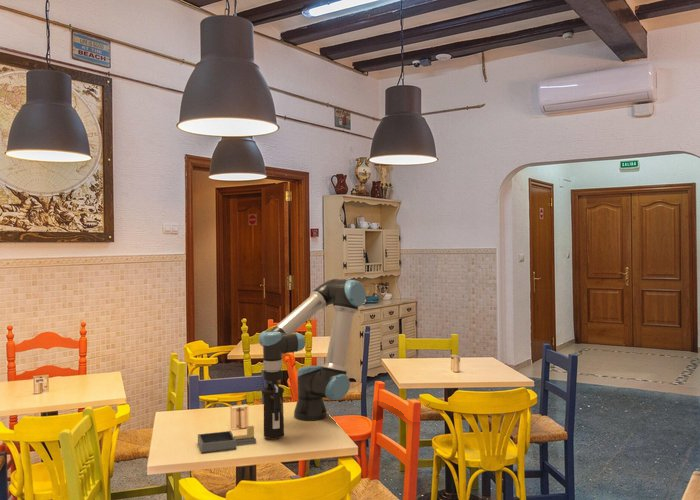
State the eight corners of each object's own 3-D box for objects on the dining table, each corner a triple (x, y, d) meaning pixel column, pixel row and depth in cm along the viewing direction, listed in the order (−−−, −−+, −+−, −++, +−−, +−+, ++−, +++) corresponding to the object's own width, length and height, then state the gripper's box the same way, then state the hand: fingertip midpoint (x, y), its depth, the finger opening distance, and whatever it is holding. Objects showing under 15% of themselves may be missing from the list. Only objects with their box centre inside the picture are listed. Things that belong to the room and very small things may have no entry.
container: (281, 439, 247) (280, 390, 247) (259, 438, 249) (258, 389, 249) (287, 432, 256) (286, 385, 255) (266, 431, 257) (266, 384, 257)
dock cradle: (230, 439, 250) (230, 430, 250) (236, 449, 238) (236, 440, 238) (197, 443, 246) (197, 434, 246) (201, 453, 233) (201, 444, 233)
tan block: (252, 438, 248) (252, 425, 248) (253, 439, 246) (253, 427, 246) (234, 440, 245) (234, 427, 245) (234, 441, 243) (234, 429, 243)
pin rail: (253, 440, 249) (253, 435, 249) (256, 443, 245) (256, 438, 245) (233, 442, 246) (233, 437, 246) (235, 445, 242) (234, 441, 242)
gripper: (258, 366, 260) (259, 419, 261) (269, 376, 241) (270, 433, 241) (275, 364, 263) (276, 417, 263) (288, 374, 243) (289, 431, 244)
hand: (273, 425), depth 252 cm, fingers closed on container, 8 cm apart
